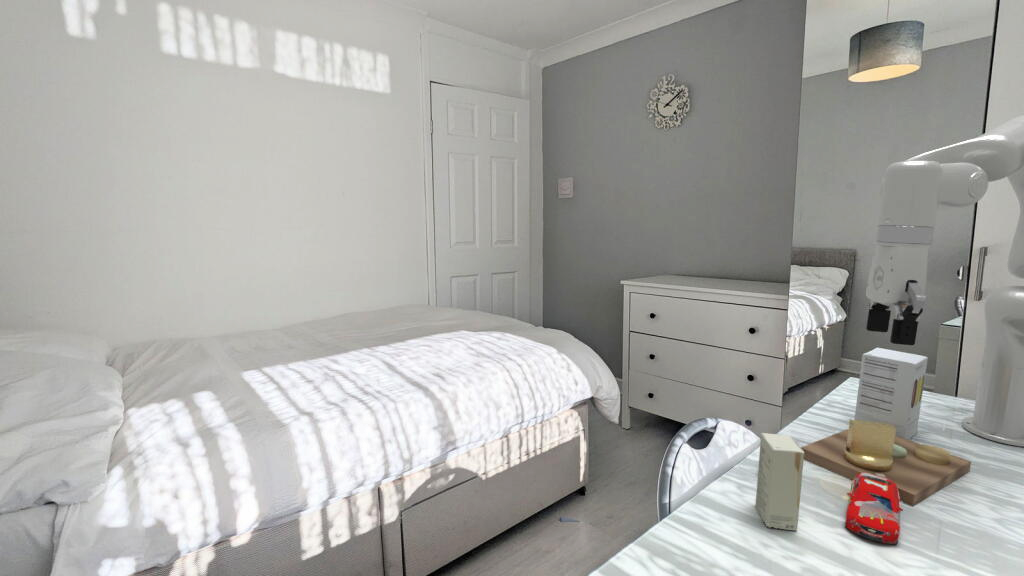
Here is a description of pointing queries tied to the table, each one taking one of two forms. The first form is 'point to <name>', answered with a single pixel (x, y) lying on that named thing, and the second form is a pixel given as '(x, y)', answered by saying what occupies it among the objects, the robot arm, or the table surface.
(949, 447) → the table surface
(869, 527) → the race car
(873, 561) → the table surface
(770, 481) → the skincare box
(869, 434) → the wing knob
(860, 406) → the supplement box
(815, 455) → the brown flat rectangular board
